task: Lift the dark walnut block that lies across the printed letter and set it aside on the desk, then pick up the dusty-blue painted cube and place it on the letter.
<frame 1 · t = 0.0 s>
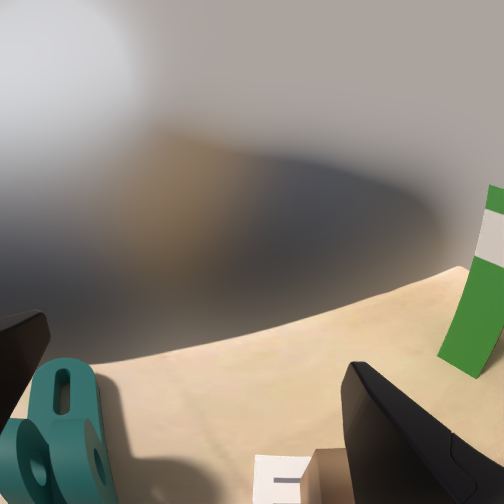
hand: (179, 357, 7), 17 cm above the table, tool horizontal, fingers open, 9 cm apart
hardback book: (472, 346, 35), on the table
bracket: (70, 441, 17), on the table
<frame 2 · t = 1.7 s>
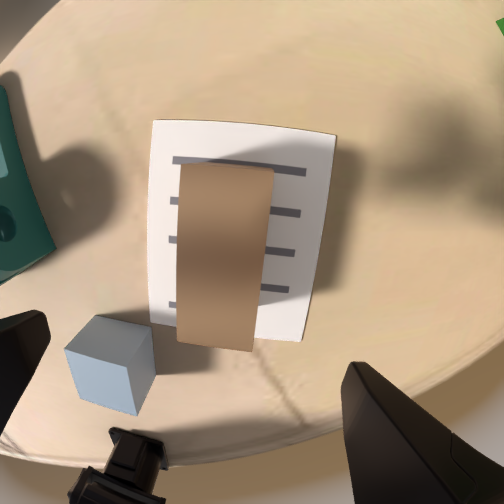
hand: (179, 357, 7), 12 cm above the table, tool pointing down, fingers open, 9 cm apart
cube: (125, 346, 22), on the table
walnut block: (231, 238, 18), resting on letter
bracket: (2, 169, 18), on the table
letter: (231, 237, 18), on the table
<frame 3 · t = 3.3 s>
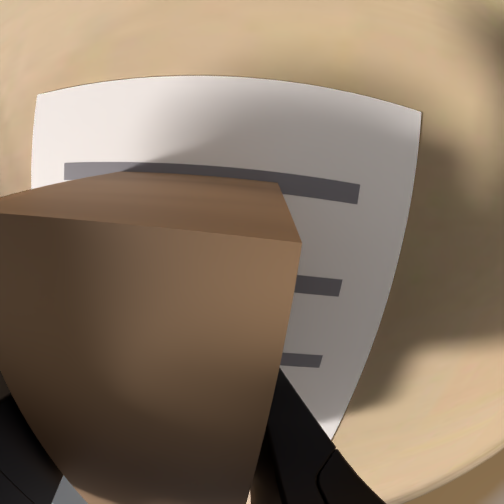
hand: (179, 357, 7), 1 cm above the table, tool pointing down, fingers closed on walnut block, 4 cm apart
cube: (66, 439, 12), on the table
walnut block: (188, 334, 8), resting on letter, touching gripper
letter: (189, 332, 8), on the table
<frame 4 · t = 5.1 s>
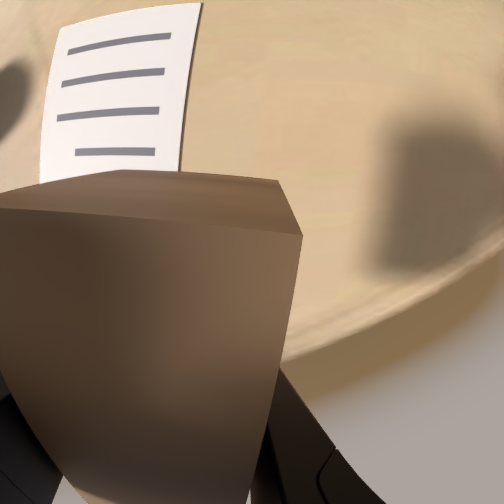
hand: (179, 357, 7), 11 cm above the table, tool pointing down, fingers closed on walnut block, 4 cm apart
walnut block: (188, 332, 8), point 10 cm above the table, touching gripper
letter: (103, 105, 15), on the table
when the fingers open (2 cm above the table, at t = 6.9 s): walnut block drops 1 cm, on the table.
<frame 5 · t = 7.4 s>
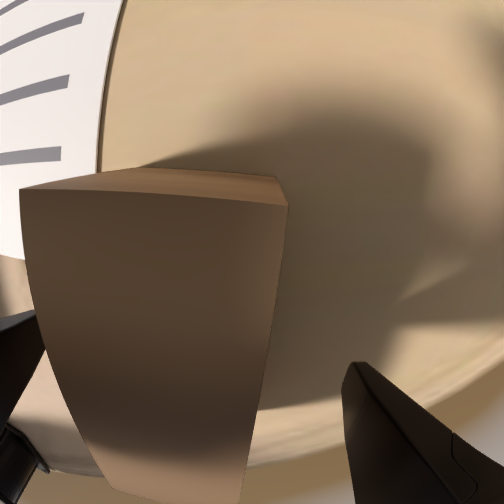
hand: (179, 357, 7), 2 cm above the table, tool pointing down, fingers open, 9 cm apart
walnut block: (197, 311, 9), on the table
letter: (3, 88, 7), on the table
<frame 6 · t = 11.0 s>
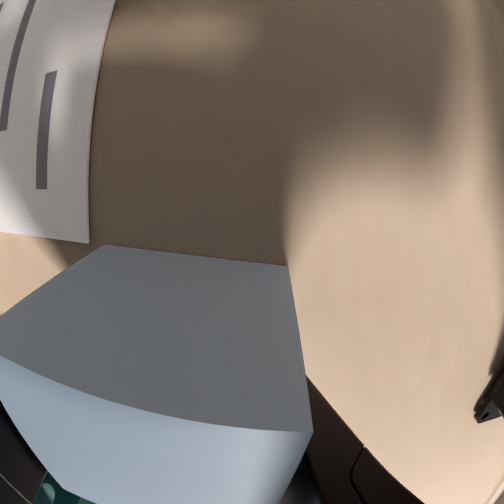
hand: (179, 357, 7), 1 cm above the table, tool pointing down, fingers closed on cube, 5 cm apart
cube: (188, 335, 8), on the table, touching gripper
bracket: (19, 430, 13), on the table
when the fingers open (2 cm above the table, at t = 15.1 s): cube drops 1 cm, resting on letter.
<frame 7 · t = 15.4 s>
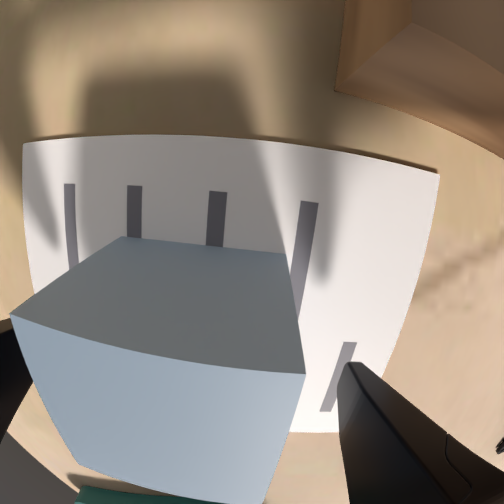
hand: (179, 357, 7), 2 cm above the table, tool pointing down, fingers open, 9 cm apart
cube: (196, 319, 9), resting on letter
walnut block: (463, 83, 7), on the table
letter: (195, 315, 9), on the table
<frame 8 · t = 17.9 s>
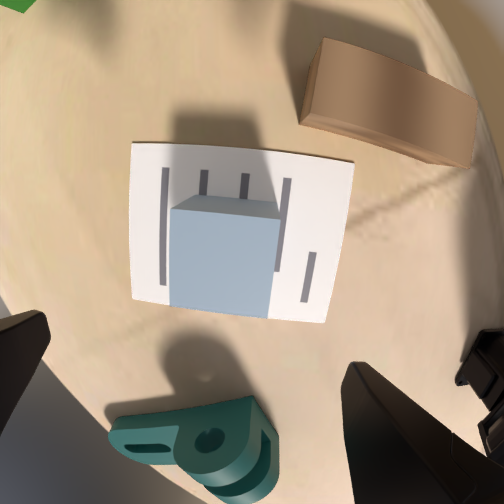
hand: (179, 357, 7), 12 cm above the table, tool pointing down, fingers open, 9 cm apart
cube: (232, 237, 19), resting on letter
walnut block: (373, 113, 16), on the table
bracket: (184, 429, 26), on the table
letter: (231, 236, 19), on the table
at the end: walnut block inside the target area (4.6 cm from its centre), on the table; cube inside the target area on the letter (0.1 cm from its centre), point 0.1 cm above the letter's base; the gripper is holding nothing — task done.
